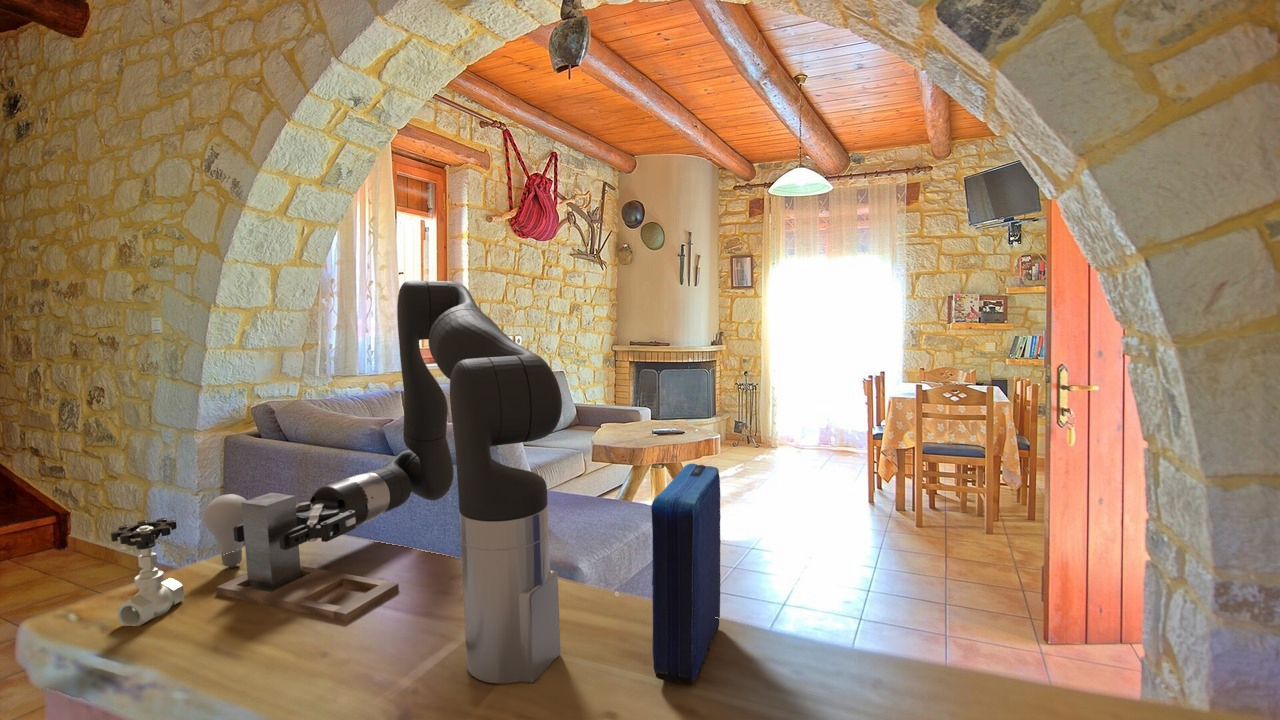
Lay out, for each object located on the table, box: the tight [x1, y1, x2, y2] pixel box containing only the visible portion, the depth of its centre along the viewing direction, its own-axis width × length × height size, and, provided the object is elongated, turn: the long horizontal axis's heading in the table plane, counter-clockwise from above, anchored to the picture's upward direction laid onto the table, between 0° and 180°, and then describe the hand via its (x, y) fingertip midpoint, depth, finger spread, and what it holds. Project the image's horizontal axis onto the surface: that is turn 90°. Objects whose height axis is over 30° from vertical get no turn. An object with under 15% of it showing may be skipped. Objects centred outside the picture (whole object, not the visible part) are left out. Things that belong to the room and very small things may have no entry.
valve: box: [110, 517, 185, 627], centre depth 85 cm, size 7×7×12 cm
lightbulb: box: [203, 493, 247, 568], centre depth 101 cm, size 6×6×11 cm
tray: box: [216, 565, 400, 623], centre depth 91 cm, size 22×9×2 cm, turn 68°
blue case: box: [650, 463, 722, 685], centre depth 74 cm, size 14×5×20 cm, turn 162°
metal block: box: [241, 492, 301, 592], centre depth 92 cm, size 4×4×12 cm
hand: (258, 538), depth 90 cm, fingers open, 8 cm apart
